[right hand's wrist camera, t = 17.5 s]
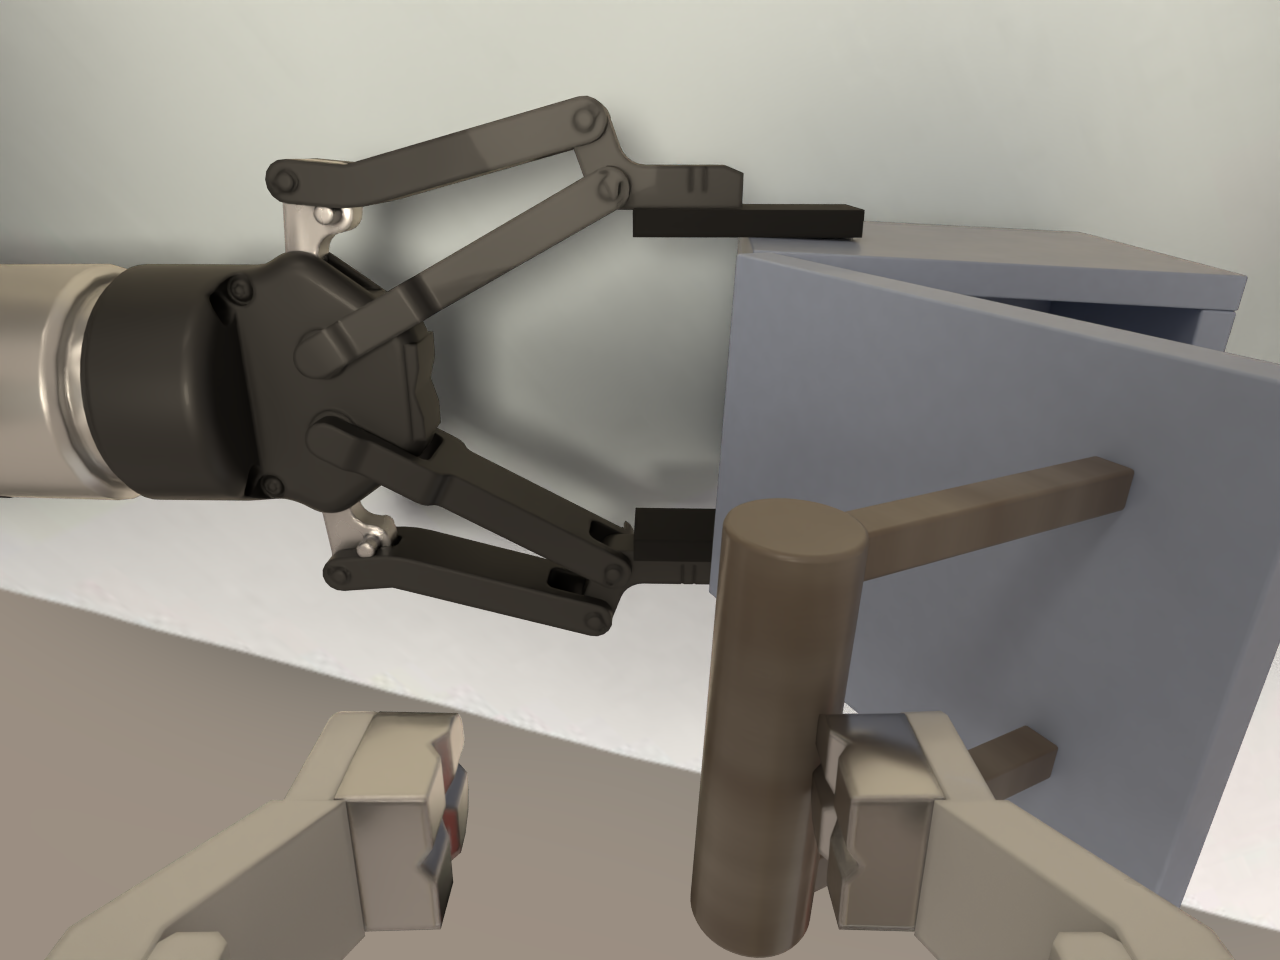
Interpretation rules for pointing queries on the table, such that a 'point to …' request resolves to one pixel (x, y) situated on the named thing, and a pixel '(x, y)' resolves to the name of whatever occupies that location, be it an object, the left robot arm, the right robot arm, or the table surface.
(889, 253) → the chest
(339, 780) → the right robot arm
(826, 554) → the lid
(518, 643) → the table surface
